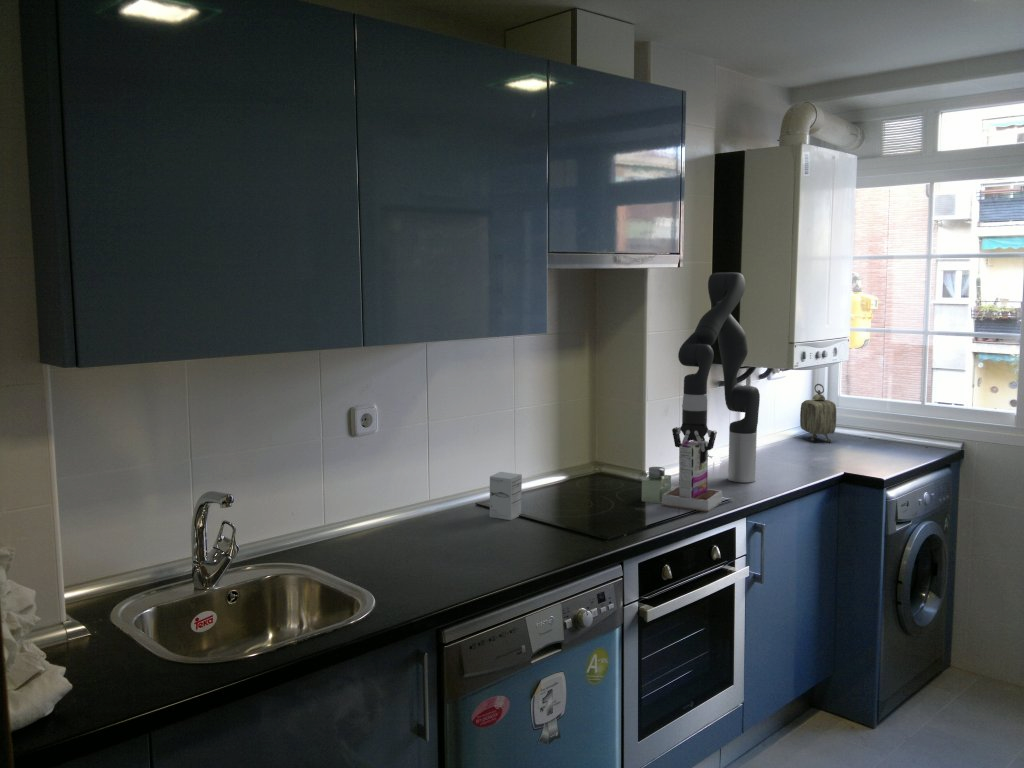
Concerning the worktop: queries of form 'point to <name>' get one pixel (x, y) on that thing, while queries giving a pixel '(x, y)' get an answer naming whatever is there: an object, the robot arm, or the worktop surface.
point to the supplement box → (505, 495)
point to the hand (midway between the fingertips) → (693, 461)
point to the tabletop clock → (818, 415)
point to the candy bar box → (692, 470)
